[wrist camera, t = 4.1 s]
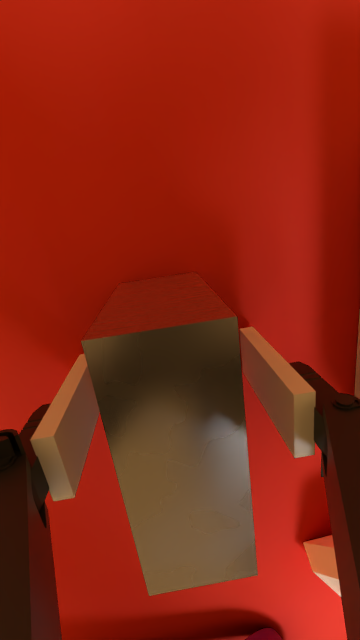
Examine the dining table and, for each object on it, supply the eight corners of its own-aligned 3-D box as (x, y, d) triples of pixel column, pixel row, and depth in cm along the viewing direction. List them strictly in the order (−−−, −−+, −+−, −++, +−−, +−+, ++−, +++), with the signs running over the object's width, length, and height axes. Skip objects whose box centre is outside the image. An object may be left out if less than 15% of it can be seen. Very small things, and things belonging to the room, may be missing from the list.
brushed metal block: (214, 429, 18) (257, 575, 10) (151, 440, 18) (149, 595, 10) (195, 271, 15) (237, 316, 7) (119, 283, 15) (81, 341, 7)
